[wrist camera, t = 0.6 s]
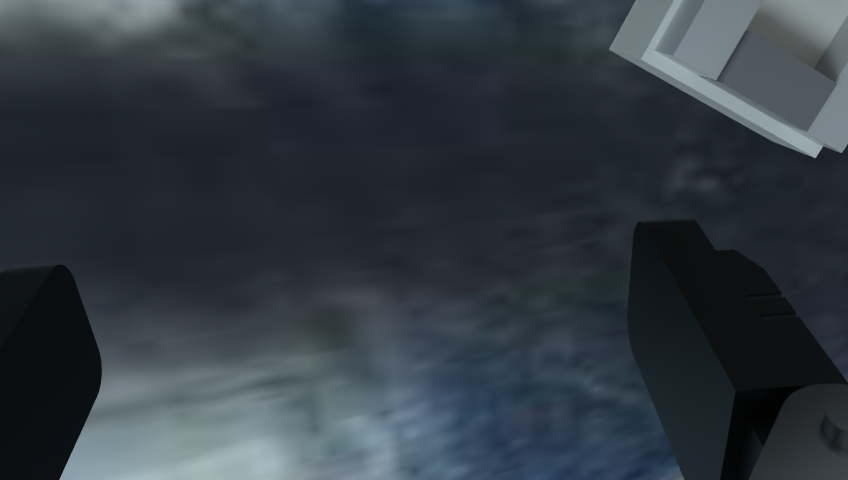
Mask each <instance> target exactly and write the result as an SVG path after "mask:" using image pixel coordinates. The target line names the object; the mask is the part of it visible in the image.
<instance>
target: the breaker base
mask: <svg viewBox="0 0 848 480" xmlns="http://www.w3.org/2000/svg"><path fill="white" fill-rule="evenodd" d="M609 50H611V51H612V52H614V53H616V54H618V55H620V56H621V57H623V58H625V59H627V60H629V61H630V62H632V63H634V64H636V65H637V66H639V67H641V68H643V69H645V70H646V71H648V72H650V73H652V74H653V75H655V76H657V77H659V78H661V79H662V80H664V81H666V82H668V83H669V84H671V85H673V86H675V87H677V88H678V89H680V90H682V91H684V92H686V93H687V94H689V95H691V96H693V97H694V98H696V99H698V100H700V101H702V102H703V103H705V104H707V105H709V106H710V107H712V108H714V109H716V110H718V111H719V112H721V113H723V114H725V115H726V116H728V117H730V118H732V119H734V120H735V121H737V122H739V123H741V124H743V125H744V126H746V127H748V128H750V129H751V130H753V131H755V132H757V133H759V134H760V135H762V136H764V137H766V138H767V139H769V140H771V141H773V142H776V143H778V144H781V145H783V146H786V147H788V148H791V149H794V150H796V151H799V152H801V153H804V154H806V155H809V156H812V157H814V158H816V156H817V155H818V153H819V152H820V150H821V149H822V147H823V146H824V147H827V148H830V149H832V150H835V151H838V152H841V153H842V152H843V150H844V149H845V147H846V146H847V144H848V0H636V1H635V3H634V5H633V6H632V8H631V10H630V12H629V14H628V16H627V17H626V19H625V21H624V23H623V25H622V26H621V28H620V30H619V32H618V34H617V36H616V37H615V39H614V41H613V43H612V45H611V46H610V48H609Z"/></svg>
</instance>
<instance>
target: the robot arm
mask: <svg viewBox="0 0 848 480" xmlns="http://www.w3.org/2000/svg"><path fill="white" fill-rule="evenodd" d="M627 323H628V334H629V340H630V345H631V349H632V353H633V355H634V358H635V361H636V363H637V365H638V368H639V370H640V373H641V375H642V378H643V380H644V382H645V385H646V387H647V390H648V392H649V395H650V397H651V399H652V402H653V404H654V407H655V409H656V412H657V414H658V417H659V419H660V421H661V424H662V426H663V429H664V431H665V434H666V436H667V438H668V441H669V443H670V446H671V448H672V451H673V453H674V456H675V458H676V460H677V463H678V465H679V468H680V470H681V473H682V475H683V477H684V480H848V383H847V381H846V380H845V378H844V377H843V376H842V374H841V373H840V372H839V370H838V369H837V368H836V366H835V365H834V364H833V362H832V361H831V359H830V358H829V357H828V355H827V354H826V353H825V351H824V350H823V349H822V347H821V346H820V344H819V343H818V342H817V340H816V339H815V338H814V336H813V335H812V334H811V332H810V331H809V329H808V328H807V327H806V325H805V324H804V323H803V321H802V320H801V319H800V317H798V318H797V317H796V312H795V310H794V309H793V308H792V306H791V305H790V304H789V302H788V301H787V300H786V298H785V297H783V298H782V296H781V291H780V290H779V289H778V287H777V286H776V285H775V283H774V282H773V280H772V279H771V278H770V276H769V275H768V274H767V272H766V271H765V270H764V269H763V268H762V267H760V266H759V265H757V264H756V263H754V262H753V261H751V260H749V259H748V258H746V257H745V256H743V255H742V254H740V253H739V252H737V251H735V250H721V251H716V250H715V249H714V247H713V246H712V244H711V243H710V241H709V240H708V238H707V237H706V235H705V234H704V232H703V231H702V229H701V228H700V226H699V225H698V223H697V222H696V221H695V220H694V219H693V218H681V219H667V220H654V221H641V222H638V223H637V225H636V227H635V230H634V236H633V247H632V259H631V272H630V285H629V297H628V310H627ZM101 376H102V366H101V357H100V352H99V349H98V346H97V343H96V340H95V337H94V335H93V332H92V329H91V326H90V323H89V320H88V317H87V314H86V312H85V309H84V306H83V303H82V300H81V297H80V294H79V292H78V289H77V286H76V283H75V280H74V278H73V275H72V274H71V272H70V271H69V269H68V268H67V267H66V266H64V265H48V266H35V267H22V268H9V269H6V270H4V271H3V272H2V273H1V274H0V480H59V479H60V477H61V475H62V473H63V470H64V468H65V466H66V464H67V462H68V459H69V457H70V455H71V453H72V451H73V448H74V446H75V444H76V442H77V440H78V437H79V435H80V433H81V431H82V429H83V426H84V424H85V422H86V420H87V418H88V415H89V413H90V411H91V409H92V406H93V404H94V402H95V400H96V398H97V395H98V393H99V389H100V385H101Z"/></svg>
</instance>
